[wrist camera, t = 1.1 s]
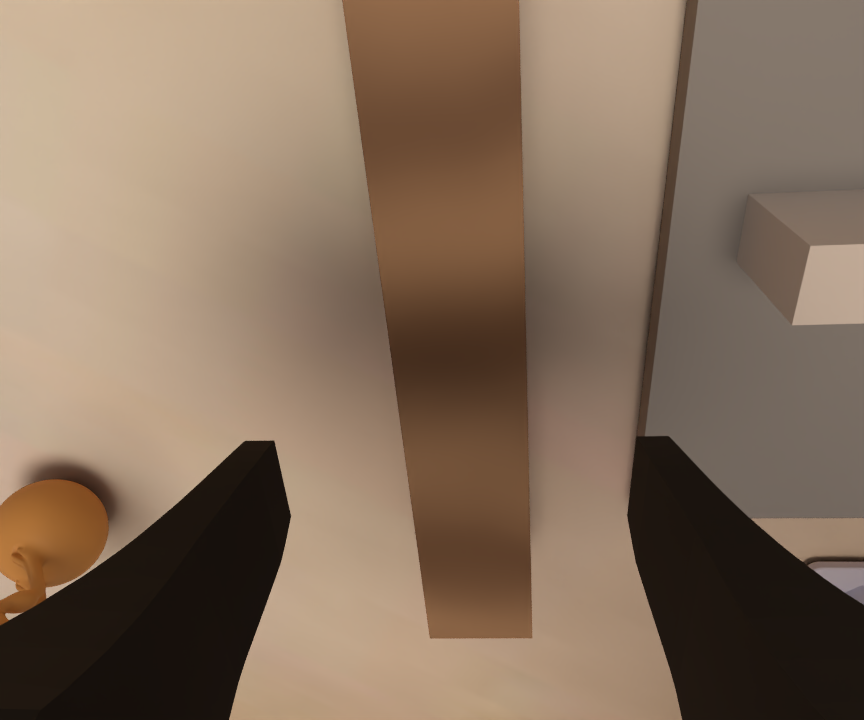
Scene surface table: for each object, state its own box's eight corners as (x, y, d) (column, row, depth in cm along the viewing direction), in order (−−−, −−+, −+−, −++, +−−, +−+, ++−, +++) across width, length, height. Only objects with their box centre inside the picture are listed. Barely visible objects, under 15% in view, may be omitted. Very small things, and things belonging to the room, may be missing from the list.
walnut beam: (524, 531, 27) (532, 637, 23) (438, 533, 27) (429, 638, 23) (506, -141, 16) (514, -181, 12) (363, -124, 16) (320, -157, 12)
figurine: (17, 404, 25) (-309, 712, 15) (178, 437, 25) (-30, 761, 15) (37, 557, 29) (-206, 881, 19) (174, 584, 29) (10, 916, 19)
